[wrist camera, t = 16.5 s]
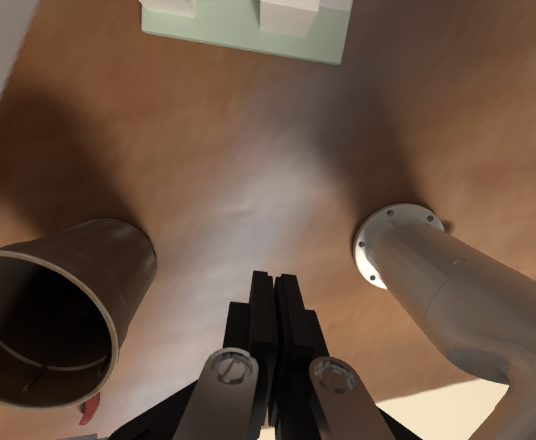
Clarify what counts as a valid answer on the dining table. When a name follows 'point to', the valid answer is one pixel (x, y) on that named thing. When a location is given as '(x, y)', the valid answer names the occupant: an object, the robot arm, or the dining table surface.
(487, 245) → the dining table surface
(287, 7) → the block
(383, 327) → the dining table surface
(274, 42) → the din panel
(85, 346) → the plant pot
